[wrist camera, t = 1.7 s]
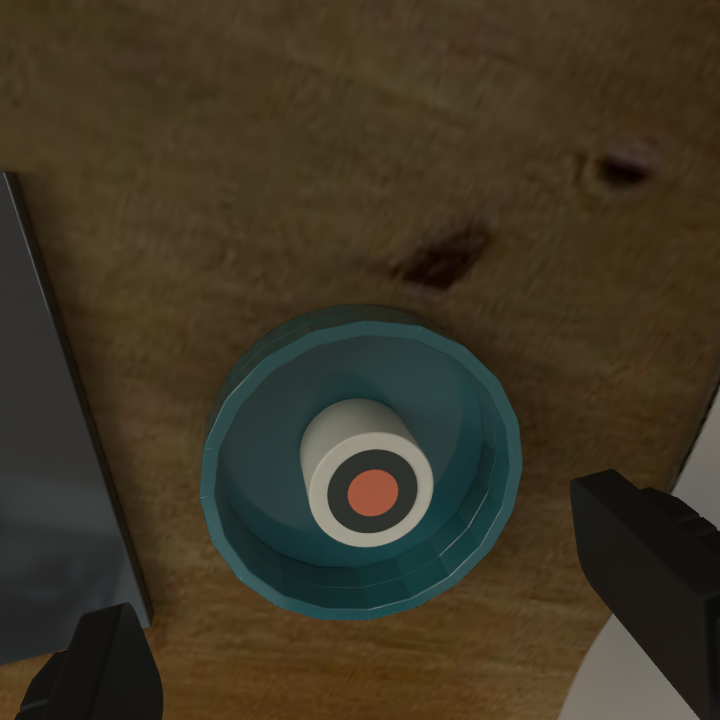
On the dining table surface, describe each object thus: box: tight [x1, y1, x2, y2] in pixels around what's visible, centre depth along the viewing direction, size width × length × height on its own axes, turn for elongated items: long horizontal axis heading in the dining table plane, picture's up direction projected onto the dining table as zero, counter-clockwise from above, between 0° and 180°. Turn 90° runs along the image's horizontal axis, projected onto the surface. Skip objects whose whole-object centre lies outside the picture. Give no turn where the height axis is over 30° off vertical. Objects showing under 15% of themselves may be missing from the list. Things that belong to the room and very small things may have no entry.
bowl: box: [199, 304, 523, 620], centre depth 28 cm, size 13×13×4 cm
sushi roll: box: [300, 398, 434, 547], centre depth 27 cm, size 5×5×4 cm
